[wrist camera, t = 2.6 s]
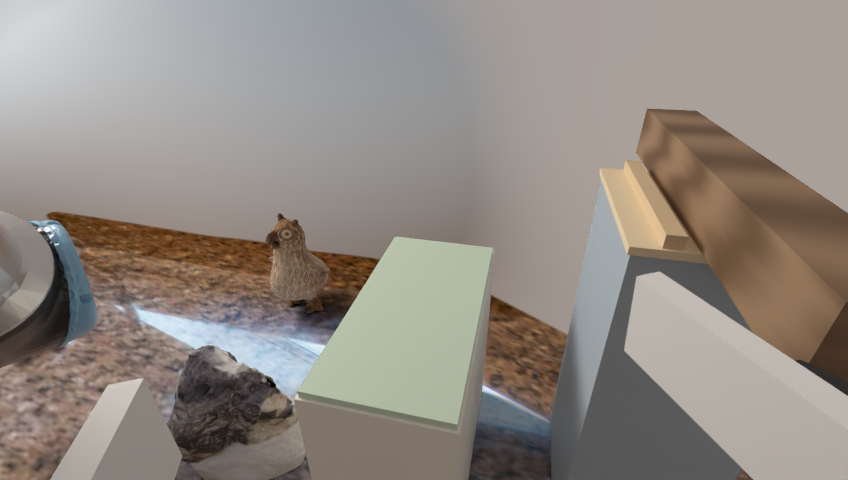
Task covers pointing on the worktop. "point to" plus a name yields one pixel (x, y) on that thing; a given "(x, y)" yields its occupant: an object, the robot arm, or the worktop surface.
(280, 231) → the figurine
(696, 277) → the pillar
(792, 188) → the walnut block
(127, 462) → the robot arm
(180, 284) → the worktop surface
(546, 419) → the worktop surface
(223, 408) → the stone
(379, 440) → the felt block
